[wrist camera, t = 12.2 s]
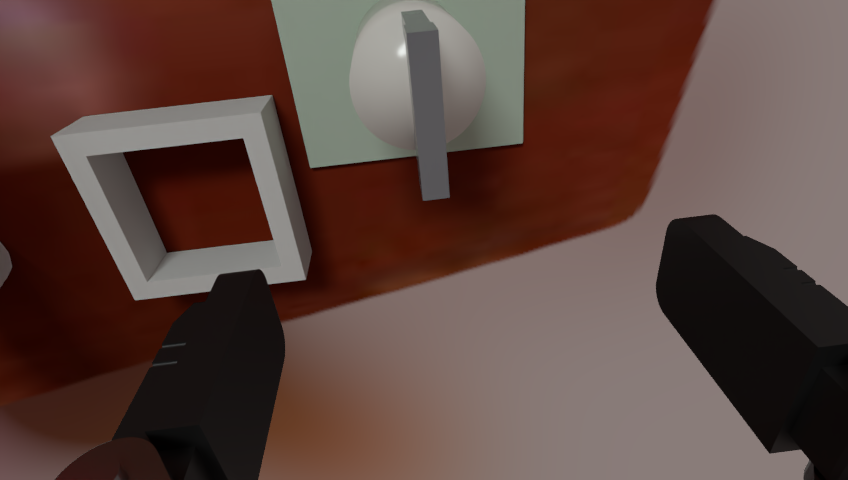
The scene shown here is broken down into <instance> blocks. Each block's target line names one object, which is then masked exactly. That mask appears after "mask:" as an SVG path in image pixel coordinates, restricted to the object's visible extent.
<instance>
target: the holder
mask: <svg viewBox="0 0 848 480" xmlns="http://www.w3.org/2000/svg"><path fill="white" fill-rule="evenodd" d="M51 138H52V140H53V142H54V144H55V146H56V148H57V150H58V152H59V154H60V156H61V158H62V160H63V162H64V164H65V166H66V167H67V169H68V171H69V173H70V175H71V177H72V179H73V181H74V183H75V185H76V187H77V189H78V191H79V193H80V195H81V197H82V199H83V200H84V202H85V204H86V206H87V208H88V210H89V212H90V214H91V216H92V218H93V220H94V222H95V224H96V226H97V228H98V230H99V231H100V233H101V235H102V237H103V239H104V241H105V243H106V245H107V247H108V249H109V251H110V253H111V255H112V257H113V259H114V261H115V263H116V264H117V266H118V268H119V270H120V272H121V274H122V276H123V278H124V280H125V282H126V284H127V286H128V288H129V290H130V292H131V294H132V296H133V297H134V299H135V300H142V299H150V298H159V297H167V296H175V295H184V294H192V293H200V292H209V291H211V289H212V287H213V284H214V282H215V280H216V278H217V276H218V275H220V274H223V273H231V272H239V271H248V270H256V269H260V270H261V271H262V272H263V273H264V275H265V277H266V280H267V283H268V284H275V283H284V282H292V281H300V280H306V277H307V273H308V268H309V263H310V259H311V254H312V249H311V245H310V241H309V237H308V233H307V229H306V225H305V221H304V218H303V214H302V210H301V206H300V202H299V198H298V194H297V190H296V186H295V182H294V178H293V174H292V170H291V167H290V163H289V159H288V155H287V151H286V147H285V143H284V139H283V135H282V131H281V127H280V123H279V119H278V115H277V112H276V108H275V104H274V100H273V96H272V95H268V96H259V97H250V98H241V99H233V100H224V101H215V102H206V103H197V104H189V105H180V106H171V107H162V108H154V109H145V110H136V111H127V112H118V113H110V114H101V115H92V116H84V117H82V118H80V119H79V120H77V121H75V122H74V123H72V124H70V125H69V126H67V127H65V128H64V129H62V130H60V131H59V132H57V133H55V134H54V135H52V136H51ZM240 138H243V139H244V143H245V146H246V149H247V153H248V156H249V159H250V163H251V166H252V169H253V173H254V176H255V179H256V183H257V186H258V189H259V193H260V196H261V199H262V203H263V206H264V209H265V213H266V216H267V219H268V223H269V226H270V229H271V233H272V236H273V239H274V240H271V241H262V242H254V243H246V244H237V245H229V246H220V247H212V248H203V249H195V250H187V251H178V252H170V253H167V252H166V250H165V247H164V245H163V243H162V241H161V238H160V236H159V234H158V231H157V229H156V227H155V225H154V222H153V220H152V218H151V216H150V213H149V211H148V209H147V207H146V204H145V202H144V200H143V198H142V195H141V193H140V191H139V189H138V186H137V184H136V182H135V180H134V177H133V175H132V173H131V170H130V168H129V166H128V164H127V161H126V159H125V157H124V155H123V152H127V151H136V150H145V149H154V148H162V147H171V146H180V145H188V144H197V143H206V142H214V141H223V140H232V139H240Z"/></svg>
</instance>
